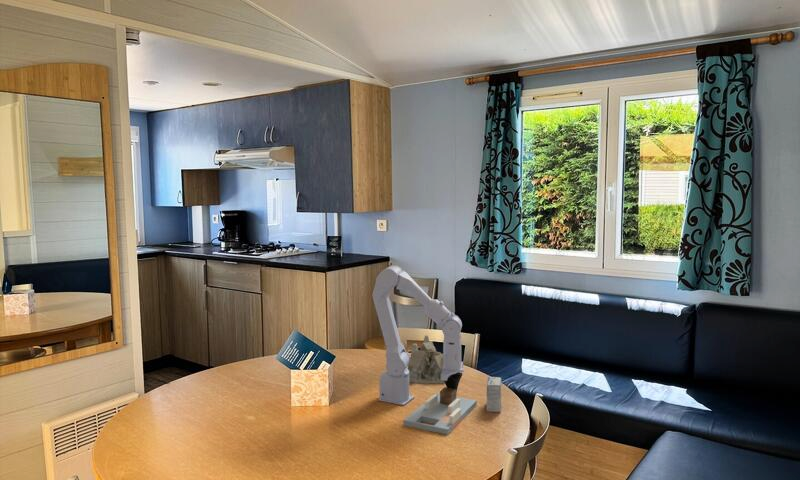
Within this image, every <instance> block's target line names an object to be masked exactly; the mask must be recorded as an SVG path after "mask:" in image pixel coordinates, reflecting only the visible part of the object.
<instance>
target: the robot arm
mask: <svg viewBox="0 0 800 480" xmlns="http://www.w3.org/2000/svg"><path fill="white" fill-rule="evenodd" d="M395 287H396V290H402V291H406V292H408V293H409V294H410V295H411V296H412V297H413V298H414V299H415V300H416V301H417V302H419V303H420V304H421V305H422V306H423V307H424V312H425V314H426V315H427V316H428V317H429V318H431V320H432V321H433V322H434V323H436V325H437V326H439V327H440V328H441V331H442V333H443V341H442V342H443V343H442V344H443V345H442V346H443V347H442V348H443V349H442V351H443V353H442V354H443V369H442V373H441V380H444V382H445V383H444V384H445V387H447V388H452V389H456V394H457V392H458V387H459V383H460V381H461V379H462V376H463V373H464V372H465V368H464V362H463V361H462V334H461V331H462V327H463V323H462V320H461V318H460V317H459V316H458V315H456V314H455V313H454V312H453V311H452V312H451V311H450V310H449V309H447V307H446V306H445V305H444V301H442V300H439V299H436V298H435V299H433V298H431V297H430V296H429V295H428V294H427V293H426V292H425V290H424V289H423V288H422V287H420V286H419V284H418V283H417V282H416V281H415V280H414V279H413V278H412V277H411V276H410V274H409V273H407V272H406V271H405V270H403V269H402V268H401V267H400V266H399V265H397V264H396V265H395V264H391V265H389V266H388V267H386V268H384V269H382V270H381V271H380V272H379V273H378V275H377V276H376V278H375V284H374V287H373V291H372V294H371V295H372V299H373V304H374V307H375V310H376V314H377V317H378V318H377V319H378V321H379V326H380V330H381V333H382V337H383V340H384V344H385V357H386V362H385V363H386V364H385V371H382V373H381V374H380V378H379V398H378V401H380V402H385V403H389V404H395V405H400V406H405V405H406V404H408V403H409V402H410V401H412V400H413V399H414V398H415V396H414V395H412V394H411V395H410V381H409V370H408V365H409V363H410V357H411V355H410V354H409V352H407V350H406V347H405V345H404V343H402V341H401V337H400V333H399V330H398V326H397V323H396V318H395V316H394V315H395V314H394V311H393V308H392V304H391V300H390V294H391V293H392V292H393V290H394V289H395Z"/></svg>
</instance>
